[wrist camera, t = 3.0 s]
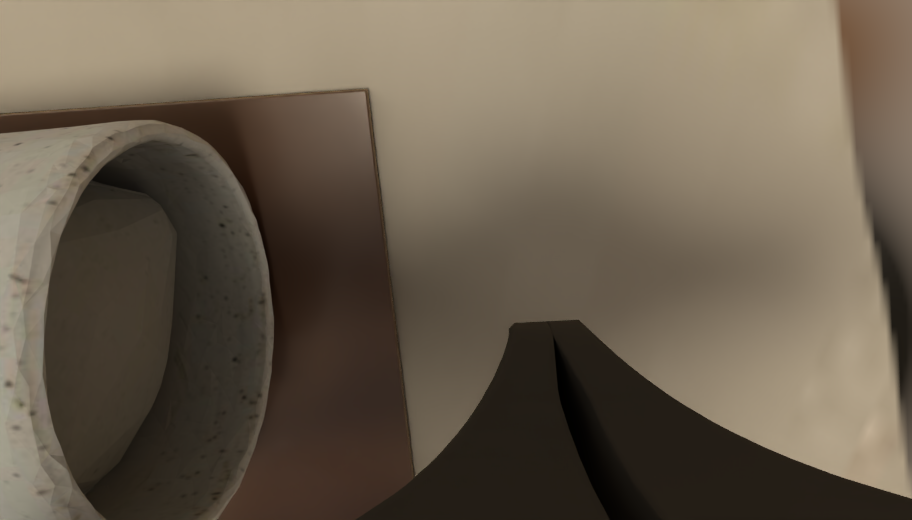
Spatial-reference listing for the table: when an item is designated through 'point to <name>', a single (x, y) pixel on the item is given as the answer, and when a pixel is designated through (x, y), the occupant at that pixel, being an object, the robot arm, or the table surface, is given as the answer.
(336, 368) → the walnut board
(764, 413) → the table surface
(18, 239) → the ceramic mug
